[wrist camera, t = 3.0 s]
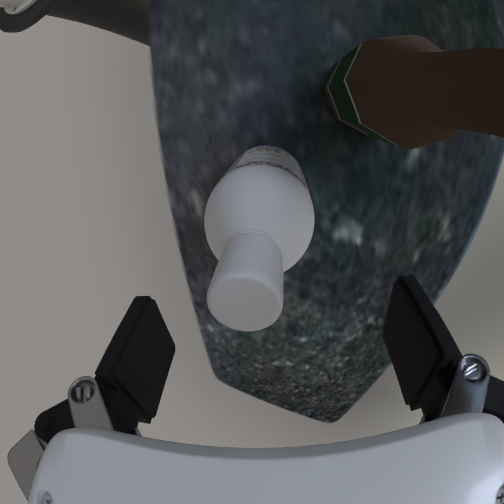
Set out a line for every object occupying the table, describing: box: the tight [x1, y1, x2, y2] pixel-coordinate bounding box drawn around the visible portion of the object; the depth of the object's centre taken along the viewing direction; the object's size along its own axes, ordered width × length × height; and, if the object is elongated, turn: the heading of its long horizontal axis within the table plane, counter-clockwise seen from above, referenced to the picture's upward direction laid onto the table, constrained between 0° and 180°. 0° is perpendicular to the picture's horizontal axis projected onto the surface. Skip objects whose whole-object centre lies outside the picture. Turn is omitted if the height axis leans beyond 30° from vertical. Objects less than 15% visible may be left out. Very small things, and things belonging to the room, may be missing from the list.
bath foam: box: [204, 145, 314, 331], centre depth 19 cm, size 7×7×20 cm
